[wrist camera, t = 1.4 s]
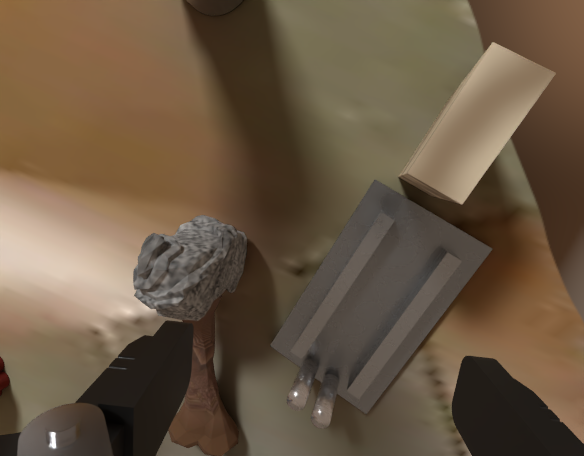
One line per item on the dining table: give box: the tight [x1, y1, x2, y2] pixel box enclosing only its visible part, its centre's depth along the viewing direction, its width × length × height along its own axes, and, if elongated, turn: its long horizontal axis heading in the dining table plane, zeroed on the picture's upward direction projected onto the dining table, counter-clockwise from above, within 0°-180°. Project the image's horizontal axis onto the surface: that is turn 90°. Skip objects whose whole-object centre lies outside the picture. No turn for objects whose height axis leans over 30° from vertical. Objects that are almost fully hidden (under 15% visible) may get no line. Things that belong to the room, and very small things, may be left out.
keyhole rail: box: [270, 180, 492, 428], centre depth 37 cm, size 14×24×8 cm, turn 150°
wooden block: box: [399, 42, 556, 205], centre depth 29 cm, size 4×9×16 cm, turn 150°
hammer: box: [133, 215, 247, 456], centre depth 41 cm, size 15×10×30 cm
